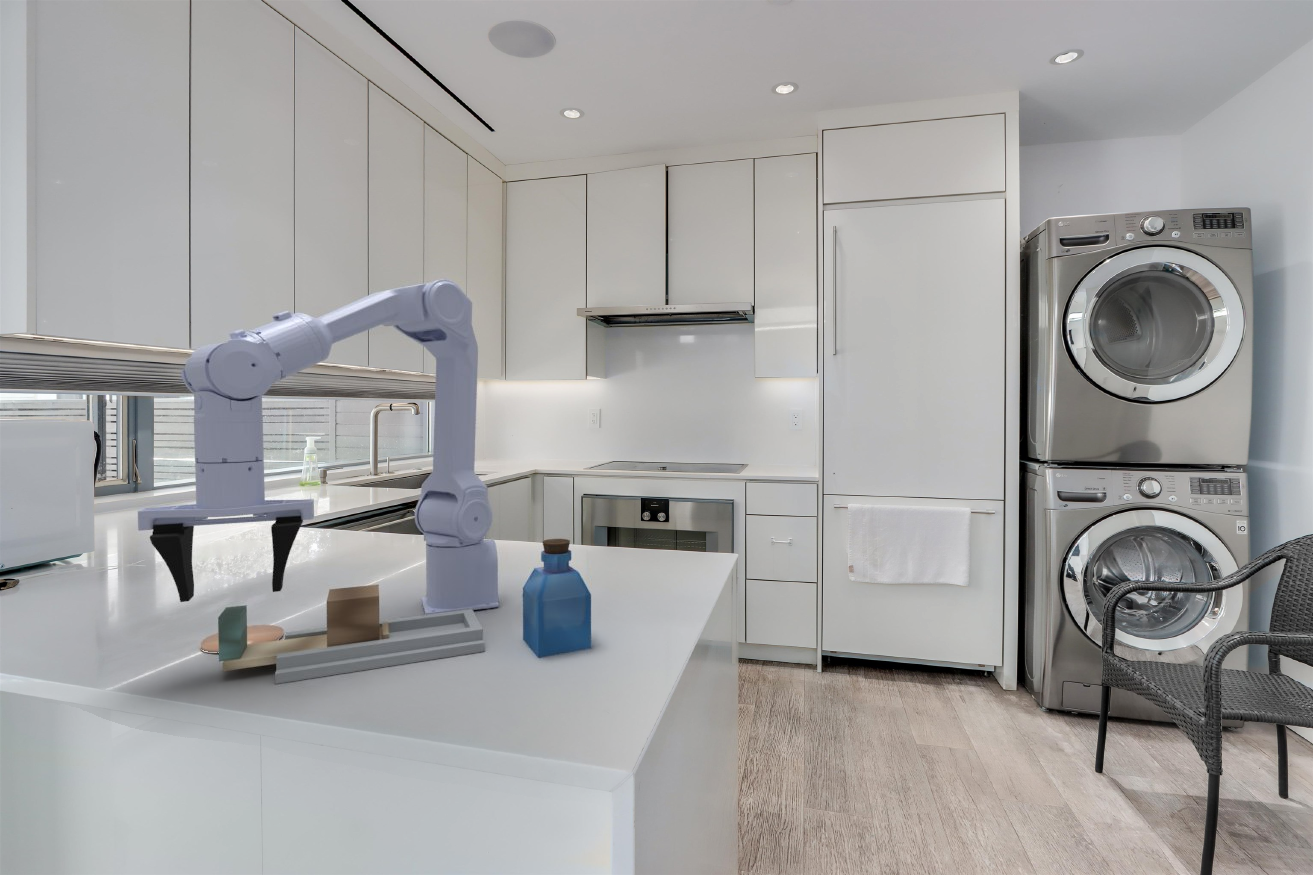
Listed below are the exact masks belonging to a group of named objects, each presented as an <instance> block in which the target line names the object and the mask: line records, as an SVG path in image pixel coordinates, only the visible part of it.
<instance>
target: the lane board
mask: <svg viewBox="0 0 1313 875" xmlns="http://www.w3.org/2000/svg"><path fill="white" fill-rule="evenodd" d="M382 622H388V631H389V639H382V640H375V641H368V642H361V643H353V644H346V645H339V646H332V647H324V648H317V649H310V650H303V651H295V652H288V653H281V654H278V655H277V657H276V664H275V665H276V668H275V669H276V670H275V673H274V684H275V685H276V684H284V683H290V682H296V681H297V682H298V681H302V680H308V679H310V680H311V679H316V678H322V677H330V676H335V675H341V674H347V673H354V672H361V671H367V670H373V669H380V668H386V667H392V666H394V667H395V666H399V665H405V664H407V665H408V664H413V663H418V662H424V661H433V660H437V659H444V658H445V659H446V658H452V657H458V656H463V655H465V656H466V655H469V654H477V653H482V652H483V653H484V652H485V641H484V630H483V629H484V628H483V627H482V625H481V623H480V621H479V619H478V618H477V615H476V613H475V612H474V610H472V609H469V610H461V611H453V612H445V613H437V614H429V615H426V614H423V615H414V616H407V617H399V618H390V619H383V620H379V627H382ZM325 634H327V626H326V627H318V628H310V629H309V628H308V629H304V630H295V631H287V632H285V635H284V640H287V639H295V638H302V637H310V636H318V635H325Z"/></svg>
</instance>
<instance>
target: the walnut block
mask: <svg viewBox="0 0 1313 875" xmlns="http://www.w3.org/2000/svg"><path fill="white" fill-rule="evenodd" d="M379 587H380V586H379V584H371V585H370V584H369V585H360V586H350V587H342V588H341V587H340V588H329V590H328V595H327V598H326V627H327V647H332V646H339V645H346V644H353V643H361V642H368V641H375V640H380V630H379V621H380V588H379Z"/></svg>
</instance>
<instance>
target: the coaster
mask: <svg viewBox="0 0 1313 875" xmlns="http://www.w3.org/2000/svg"><path fill="white" fill-rule="evenodd" d="M284 632H285V631H284V629H283V628H282V627H281V626H278V625H273V624H272V625H271V624H256V625H247V645H248V644H256V643H264V642H271V641H277V640H278V639H280V638H281V637H282V636H283V637H284V635H283V633H284ZM283 637H282V638H283ZM282 638H281V639H282ZM281 639H280V640H281ZM278 641H279V640H278ZM201 649H202V650H204V651H208V652H217V653H218V652H219V638H218V632H216V633H213V634H211V635H209V636H207V637H206V638H204V639H203V640H201V641H200V650H201ZM202 650H201V651H202Z"/></svg>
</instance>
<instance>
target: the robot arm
mask: <svg viewBox="0 0 1313 875" xmlns="http://www.w3.org/2000/svg"><path fill="white" fill-rule="evenodd" d="M272 318H273V321H272V322H269V323H266V324H264V325H261V326H258V327H256V328H255V327H254V328H253V329H250V330H248V331H245V330H244V329H242V328H241V329H237V330H234V331H231V332H229V339H228V340H227V341H226V342H220V343H219V342H218V343H213V344H212V343H211V344H206V345H202V346H201V347H199V348H197V349H195V350H194V351H192V353H191V355H190V356H189V357H187V360H186V362H185V367H184V369H181V370H180V374H181V379H182V381H183V383H184V385H185V386H186V388H187V389H188V390H189V391H190V392H191V393H192V394H193V407H194V408H193V411H194V415H193V431H194V432H193V435H194V462H195V463H194V467H195V468H194V470H195V471H194V472H195V475H194V476H195V504H194V503H193V504H181V505H168V506H155V507H144V508H142V509H139V510H138V511H137V529H138V531H151V530H152V534H151V535H149V541H150V543H151V545H152V546H153V547H154V548H155V550H156V551H157V552H158V554H159V555H160V557H161V558H162V560H163V561H164V563H165V564H166V566H167V568H168V570H169V572H170V574H171V576H172V578H173V581H174V584H175V586H176V590H177V592H178V597H179V602H180V603H183V602H185V603H186V602H190V601H191V599H193V597H194V594H195V581H194V571H193V570H194V569H193V543H194V541H193V540H194V530H195V529H194V528H195V526H210V525H212V526H213V525H226V524H227V525H229V524H241V523H244V524H245V523H246V524H247V523H259V522H272V521H273V522H274V521H275V522H274V523H273V524H272V525H271V527H270V528H271V531H270V532H271V539H272V542H271V543H272V557H273V559H272V560H273V561H272V562H273V564H272V565H273V566H272V577H271V578H272V582H271V585H272V586H271V587H272V593H274V592H275V593H277V592H282V589H283V585H284V576H285V571H286V570H285V569H286V566H287V562H288V560H289V556H290V553H291V550H292V548H293V545H294V542H295V540H296V537H297V535H298V534H299V531H300V529H301V526H302V524H303V523H304V521H307V520H313V519H314V517H315V499H313V498H311V499H310V498H309V499H267V500H266V499H265V498H266V496H265V495H266V494H265V491H266V490H265V460H264V457H265V455H264V454H265V453H264V420H263V419H264V415H263V396H264V395H265V394H267V392H268V391H269V390H270V389H271V387H272V384H275V383H278V382H280V381H281V380H284V379H286V378H290V377H291V376H293V375H296V374H297V373H299V372H301V371H304V370H306V369H308V368H311V367H314V366H315V365H316V364H317V365H318V364H319V363H321V362H324V361H326V360H328V358H329V355H330V352H331V350H332V346H333V344H335V343H337V342H340V341H343V340H345V339H348V338H352V337H353V336H355V335H358V334H361V333H363V332H366V331H368V330H370V329H373V328H376V327H379V326H381V325H382V326H384V327H393V328H394V329H396V330H397V331H398V332H399V333H400V334H403V335H404V336H406V337H408V338H409V339H411V340H413V341H414V342H415V343H417V344H419V345H421V346H422V347H424V348H425V349H426V350H427V351H428V352H429V353H430V354H431V355H432V356H433V358H435V361H436V362H435V364H436V365H435V386H434V387H435V388H434V389H435V391H434V393H435V394H434V416H433V417H434V418H433V419H434V421H433V424H434V425H433V426H434V427H433V452H432V453H433V454H432V471H431V473H430V474H429V475H428V477H426V479H425V480H424V481H423V482H422V484H421V490H420V491H421V492H420V497H419V500H418V501H417V503H416V506H415V509H414V522H415V526H416V527H417V529H418V530H419V531H420V532H421V533H423V541H424V542H425V557H426V558H425V561H426V562H425V566H426V567H425V568H426V569H425V570H426V572H425V574H426V576H425V577H426V578H425V581H426V585H425V586H426V587H425V588H426V590H425V591H426V596H421V603H422V607H423V610H424V615H429V614H437V613H445V612H453V611H461V610H469V609H472V610H473V611H476V610H484V609H491V608H498V607H499V606H500V603H499V602H498V601H499V584H498V583H499V574H498V573H499V566H498V565H499V561H498V560H499V559H498V550H497V545H496V542H495V539H490V538H487V539H484V537H486V535H487V534H488V532H489V530H490V529H491V526H492V523H493V522H492V521H493V511H492V510H493V509H492V507H491V505H490V503H489V498H488V493H489V492H488V489H489V487H488V486H487V485H486V483H484V482H483V480H482V479H481V478H480V477H479V476H478V475H477V474H476V472H475V464H476V463H475V460H476V458H475V456H476V454H475V453H476V432H477V431H476V424H477V423H476V421H477V398H478V397H477V395H478V393H477V391H478V389H477V388H478V363H479V361H478V360H479V357H478V356H479V346H478V342H477V338H476V335H475V331H474V328H473V324H472V322H473V319H472V318H473V302H472V301H471V299H470V298H469V297H468V296H467V294H466V293H465V292H464V291H463V289H462V288H461V287H460V286H459V285H458V284H457V283H455V282H454V281H453V280H450V279H446V278H440V279H437V280H433V281H431V282H427V283H420V284H415V285H414V284H412V285H409V286H399V287H396V288H392V289H387V290H383V291H376V292H373V293H371V294H367V295H366V296H364V297H362V298H359V299H358V300H355V301H353V302H350V303H348V304H345V305H344V306H341V307H339V308H336V309H335V310H332V311H331V312H328V313H325V314H323V315H321V316H319V317H314V316H311V315H309V314H306V313H303V312H295V313H293V314H292V313H291V312H290V311H289V310H286V311H281V312H279V313H276V314H273V315H272ZM249 515H252V516H249ZM238 516H239V517H238Z"/></svg>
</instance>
